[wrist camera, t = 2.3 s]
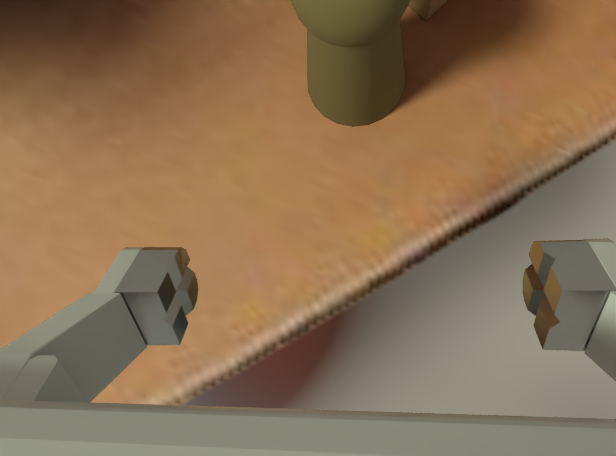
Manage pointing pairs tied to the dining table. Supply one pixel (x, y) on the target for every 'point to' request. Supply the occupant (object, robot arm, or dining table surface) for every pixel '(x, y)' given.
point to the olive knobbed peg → (354, 57)
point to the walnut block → (426, 7)
